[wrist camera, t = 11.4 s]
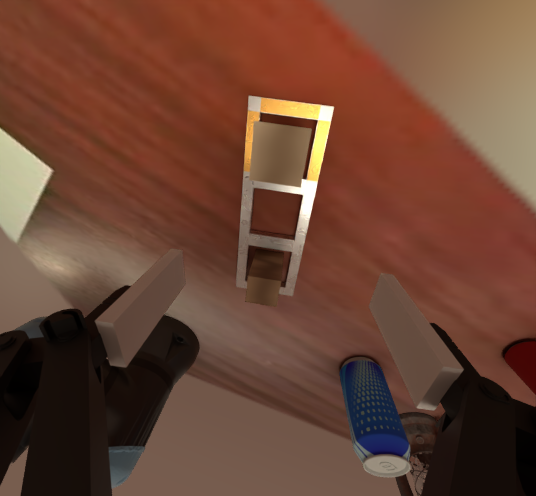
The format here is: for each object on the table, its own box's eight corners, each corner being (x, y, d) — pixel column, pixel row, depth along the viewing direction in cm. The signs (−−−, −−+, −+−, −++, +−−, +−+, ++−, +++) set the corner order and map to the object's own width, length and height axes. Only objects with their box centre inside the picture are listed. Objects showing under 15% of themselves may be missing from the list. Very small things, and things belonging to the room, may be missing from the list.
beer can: (337, 379, 50) (355, 477, 36) (338, 353, 46) (358, 451, 32) (378, 381, 49) (412, 482, 35) (382, 354, 45) (422, 455, 31)
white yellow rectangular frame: (237, 281, 41) (235, 287, 39) (251, 97, 28) (248, 95, 26) (292, 290, 40) (292, 296, 39) (332, 108, 27) (334, 106, 26)
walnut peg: (254, 271, 39) (245, 301, 32) (256, 248, 37) (247, 275, 30) (279, 275, 39) (276, 306, 32) (283, 252, 37) (281, 281, 30)
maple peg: (266, 162, 31) (249, 180, 20) (270, 125, 29) (253, 120, 17) (298, 167, 31) (300, 187, 19) (304, 130, 29) (311, 128, 17)
